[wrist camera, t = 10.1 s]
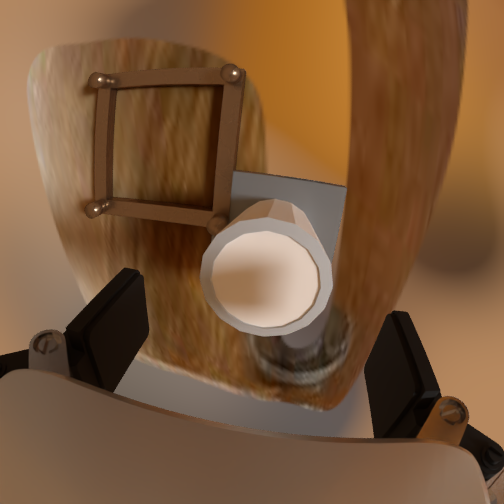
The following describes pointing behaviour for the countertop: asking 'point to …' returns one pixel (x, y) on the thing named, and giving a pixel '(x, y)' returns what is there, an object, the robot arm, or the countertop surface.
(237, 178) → the coaster
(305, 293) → the shot glass
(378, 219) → the countertop surface
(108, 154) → the brown square frame
